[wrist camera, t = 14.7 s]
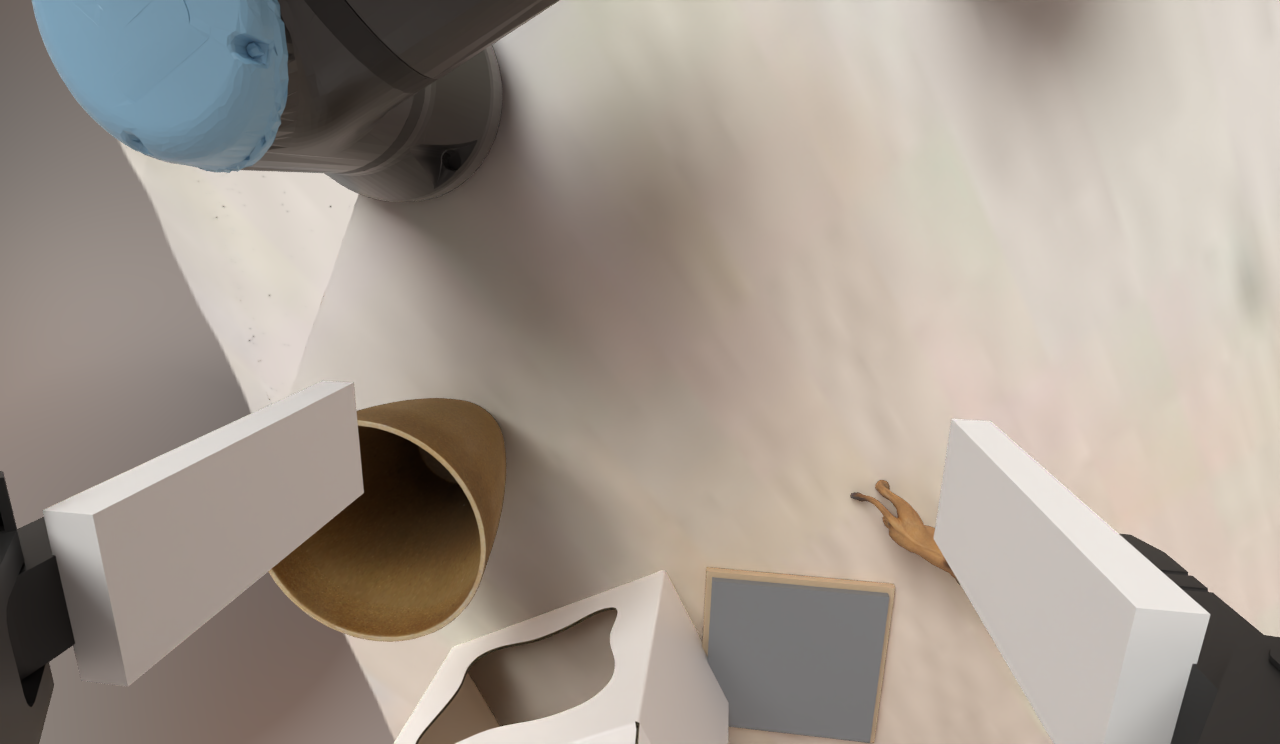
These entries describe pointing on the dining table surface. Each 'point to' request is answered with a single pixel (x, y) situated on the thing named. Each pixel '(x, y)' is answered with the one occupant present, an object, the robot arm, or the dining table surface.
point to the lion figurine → (907, 527)
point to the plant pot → (406, 524)
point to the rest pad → (798, 651)
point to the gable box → (621, 712)
